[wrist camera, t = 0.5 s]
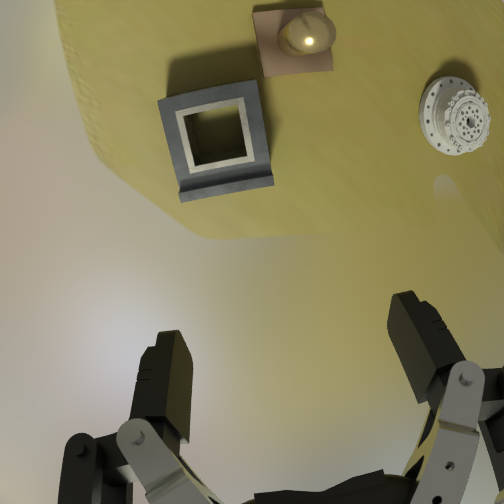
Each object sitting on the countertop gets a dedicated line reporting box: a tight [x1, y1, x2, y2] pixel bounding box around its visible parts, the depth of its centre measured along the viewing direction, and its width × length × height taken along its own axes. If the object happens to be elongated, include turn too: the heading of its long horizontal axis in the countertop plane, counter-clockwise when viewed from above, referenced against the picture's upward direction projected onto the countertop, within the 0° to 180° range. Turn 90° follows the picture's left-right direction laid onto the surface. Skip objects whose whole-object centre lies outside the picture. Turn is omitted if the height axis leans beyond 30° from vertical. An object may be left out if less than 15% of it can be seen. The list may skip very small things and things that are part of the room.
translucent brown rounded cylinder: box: [277, 11, 336, 56], centre depth 22 cm, size 3×3×8 cm
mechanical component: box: [419, 76, 491, 155], centre depth 29 cm, size 10×4×10 cm
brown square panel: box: [252, 7, 334, 78], centre depth 26 cm, size 7×7×1 cm
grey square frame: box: [157, 79, 274, 203], centre depth 29 cm, size 10×9×5 cm
